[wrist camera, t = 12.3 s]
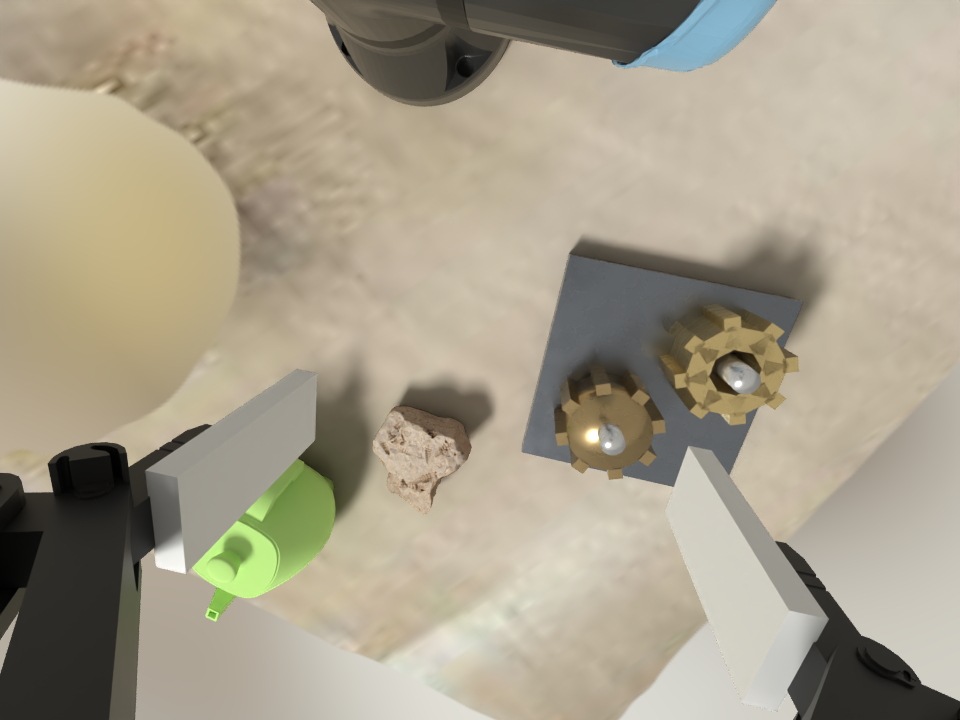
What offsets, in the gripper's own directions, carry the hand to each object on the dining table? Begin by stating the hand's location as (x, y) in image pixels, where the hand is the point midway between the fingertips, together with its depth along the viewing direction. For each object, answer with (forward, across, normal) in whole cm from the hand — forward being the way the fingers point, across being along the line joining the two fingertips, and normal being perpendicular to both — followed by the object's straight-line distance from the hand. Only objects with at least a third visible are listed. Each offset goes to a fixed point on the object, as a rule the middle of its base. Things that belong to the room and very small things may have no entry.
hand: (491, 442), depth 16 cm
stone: (+29, -7, -18) cm, 35 cm away
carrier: (+28, +13, -6) cm, 32 cm away
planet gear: (+27, +18, -2) cm, 32 cm away
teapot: (+28, -22, -28) cm, 46 cm away
